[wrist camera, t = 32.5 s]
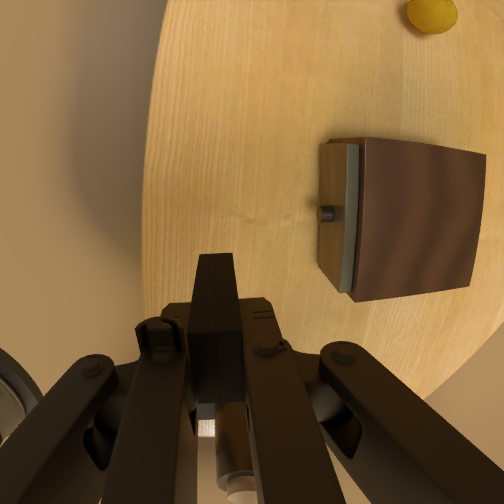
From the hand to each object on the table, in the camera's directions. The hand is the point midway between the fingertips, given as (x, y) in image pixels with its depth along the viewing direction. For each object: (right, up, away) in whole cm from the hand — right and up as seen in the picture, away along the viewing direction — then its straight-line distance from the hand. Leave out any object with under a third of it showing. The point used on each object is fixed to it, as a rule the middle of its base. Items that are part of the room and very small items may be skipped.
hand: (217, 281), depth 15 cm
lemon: (+22, +30, +12) cm, 39 cm away
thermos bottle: (-1, -18, +25) cm, 31 cm away
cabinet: (+17, +7, +19) cm, 26 cm away
